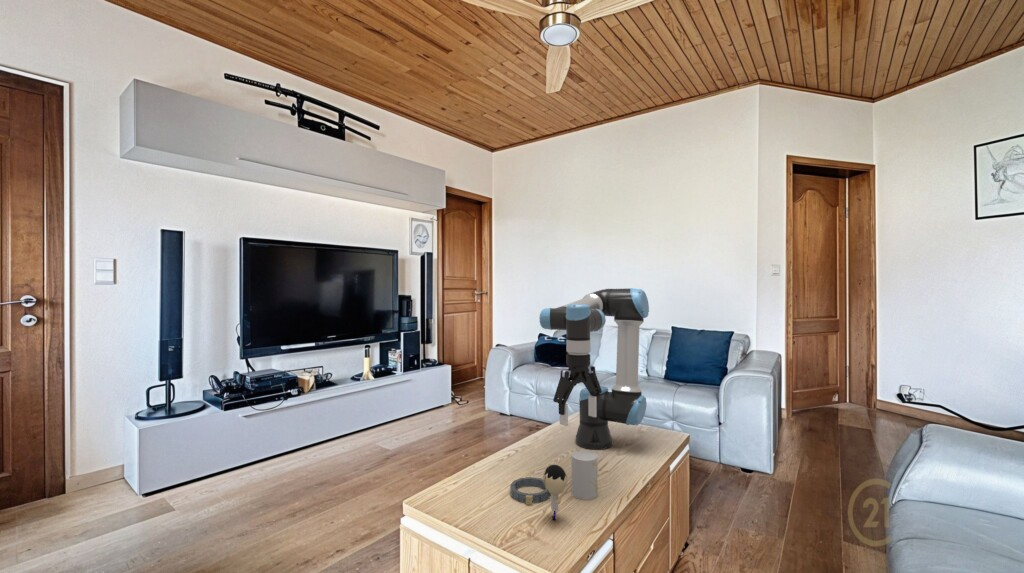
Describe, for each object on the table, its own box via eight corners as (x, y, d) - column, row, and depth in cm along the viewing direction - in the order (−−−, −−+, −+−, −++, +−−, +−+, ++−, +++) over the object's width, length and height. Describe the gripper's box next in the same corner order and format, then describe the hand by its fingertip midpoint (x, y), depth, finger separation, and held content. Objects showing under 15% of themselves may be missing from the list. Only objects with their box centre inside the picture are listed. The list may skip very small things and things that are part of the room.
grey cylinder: (597, 501, 132) (597, 461, 132) (570, 498, 134) (570, 459, 134) (597, 488, 140) (597, 451, 140) (572, 486, 142) (572, 449, 142)
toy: (541, 512, 126) (541, 460, 126) (563, 510, 126) (563, 459, 126) (546, 528, 117) (545, 472, 117) (570, 527, 118) (569, 471, 118)
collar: (531, 481, 146) (531, 474, 146) (558, 494, 136) (558, 486, 136) (502, 492, 138) (502, 484, 138) (528, 507, 128) (528, 499, 128)
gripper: (594, 348, 148) (594, 410, 148) (541, 355, 132) (541, 425, 132) (612, 350, 142) (612, 415, 142) (559, 358, 126) (559, 431, 126)
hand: (578, 420), depth 137 cm, fingers open, 13 cm apart
